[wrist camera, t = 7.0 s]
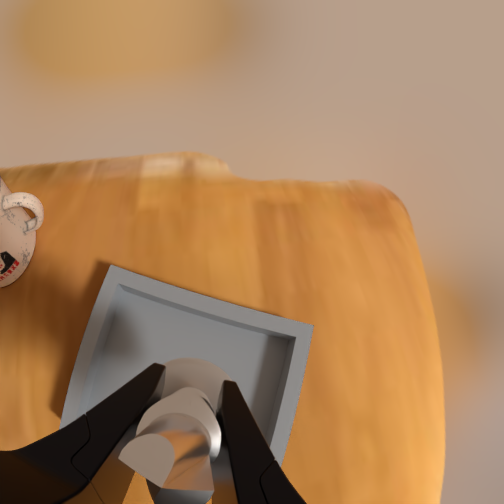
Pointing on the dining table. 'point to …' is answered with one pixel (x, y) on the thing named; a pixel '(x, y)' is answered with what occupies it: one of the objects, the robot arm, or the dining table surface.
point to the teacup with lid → (17, 232)
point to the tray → (190, 348)
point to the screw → (180, 434)
